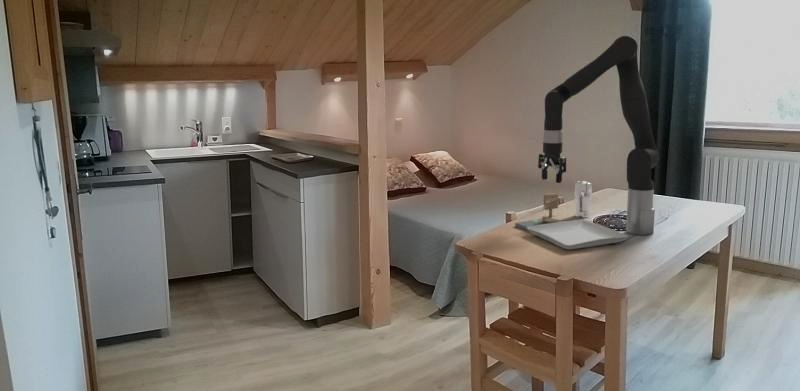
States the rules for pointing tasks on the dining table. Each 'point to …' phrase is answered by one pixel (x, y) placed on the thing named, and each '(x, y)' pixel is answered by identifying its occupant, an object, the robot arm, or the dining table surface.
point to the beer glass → (582, 198)
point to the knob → (550, 208)
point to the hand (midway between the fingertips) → (551, 181)
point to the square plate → (577, 234)
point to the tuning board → (530, 224)
